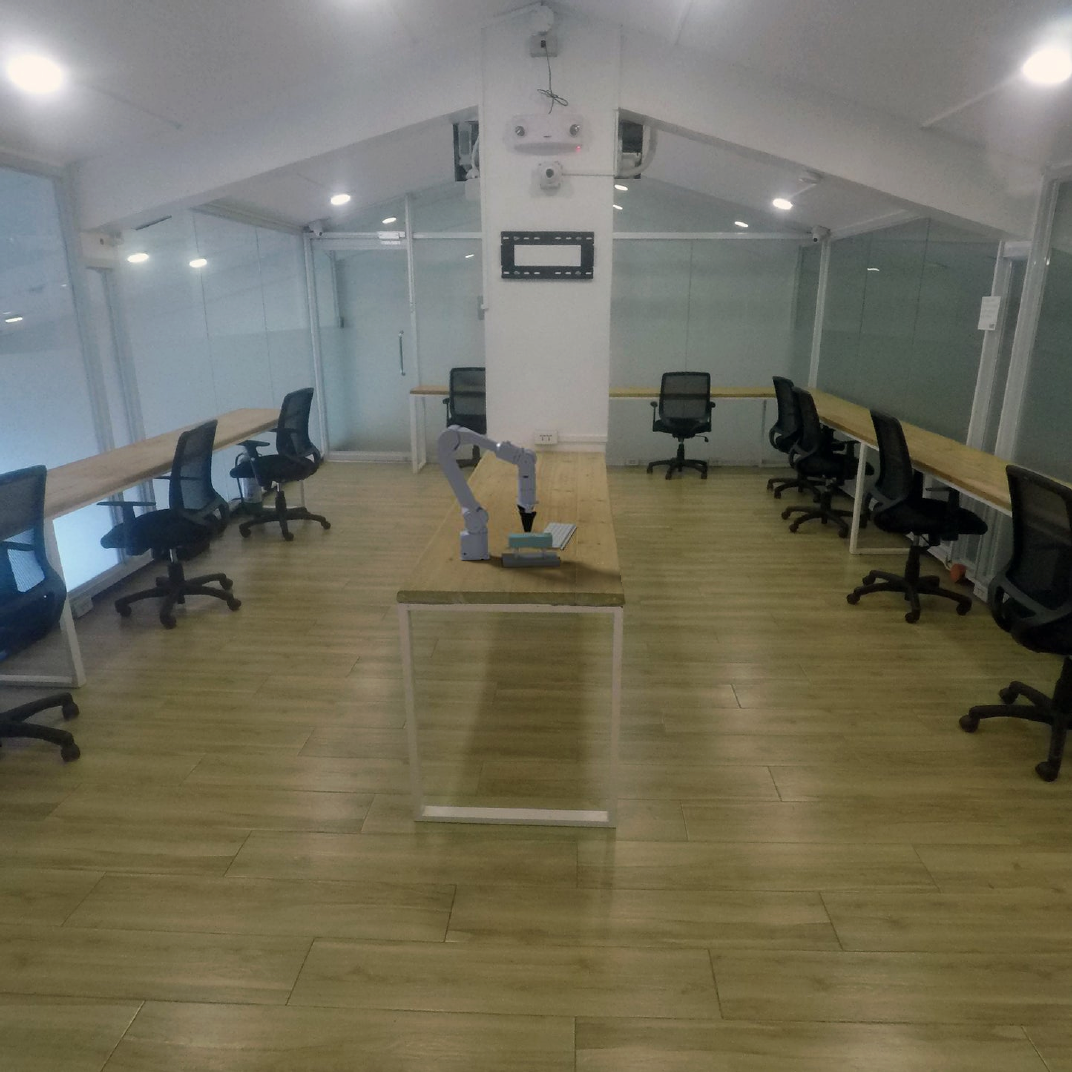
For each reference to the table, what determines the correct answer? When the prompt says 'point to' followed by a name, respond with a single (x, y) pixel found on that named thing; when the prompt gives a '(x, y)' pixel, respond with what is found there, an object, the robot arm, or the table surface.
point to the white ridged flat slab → (559, 534)
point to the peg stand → (530, 558)
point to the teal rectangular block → (530, 540)
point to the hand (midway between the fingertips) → (526, 528)
